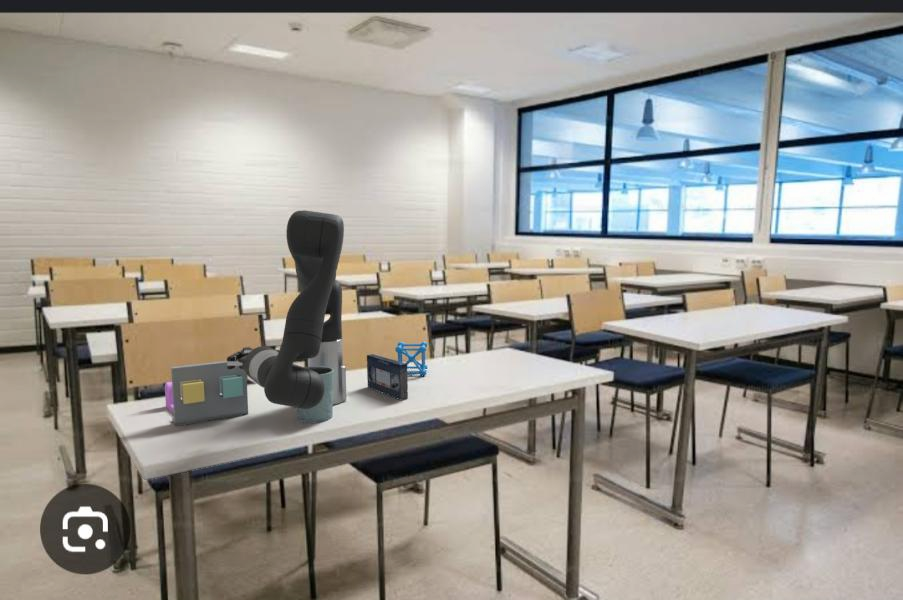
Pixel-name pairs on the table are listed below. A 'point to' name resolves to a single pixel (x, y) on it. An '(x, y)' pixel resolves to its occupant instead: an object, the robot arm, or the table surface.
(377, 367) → the vhs cassette tape
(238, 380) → the teal button
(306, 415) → the teal cup
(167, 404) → the bracket
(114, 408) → the table surface
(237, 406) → the panel
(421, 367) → the molecular structure
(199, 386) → the mustard button
